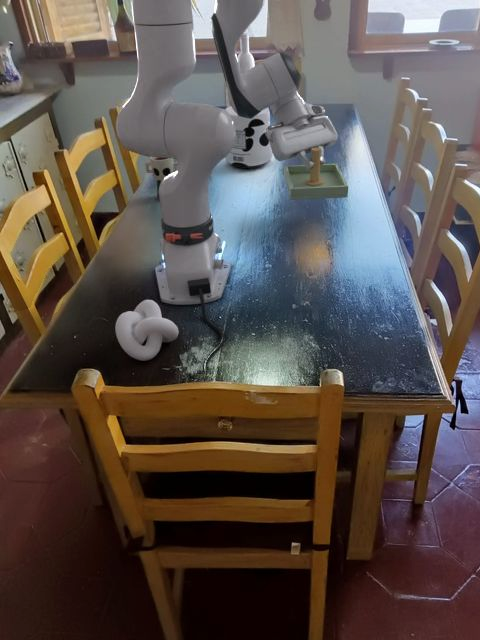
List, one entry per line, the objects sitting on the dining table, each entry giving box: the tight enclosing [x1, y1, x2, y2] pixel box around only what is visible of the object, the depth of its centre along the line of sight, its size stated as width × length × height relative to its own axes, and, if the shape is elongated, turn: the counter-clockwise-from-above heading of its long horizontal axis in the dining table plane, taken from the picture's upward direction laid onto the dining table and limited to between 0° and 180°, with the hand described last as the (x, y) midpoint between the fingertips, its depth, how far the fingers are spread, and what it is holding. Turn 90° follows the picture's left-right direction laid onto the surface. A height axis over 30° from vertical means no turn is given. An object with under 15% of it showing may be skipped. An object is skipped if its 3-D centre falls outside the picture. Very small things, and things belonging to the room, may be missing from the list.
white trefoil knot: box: [114, 299, 180, 362], centre depth 104 cm, size 11×12×9 cm
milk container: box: [224, 106, 274, 169], centre depth 182 cm, size 17×17×18 cm
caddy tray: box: [283, 148, 349, 201], centre depth 140 cm, size 17×15×10 cm
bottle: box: [237, 32, 255, 73], centre depth 233 cm, size 8×8×30 cm
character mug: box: [144, 157, 178, 199], centre depth 162 cm, size 11×7×13 cm, turn 87°
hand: (317, 166), depth 139 cm, fingers closed on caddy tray, 2 cm apart
